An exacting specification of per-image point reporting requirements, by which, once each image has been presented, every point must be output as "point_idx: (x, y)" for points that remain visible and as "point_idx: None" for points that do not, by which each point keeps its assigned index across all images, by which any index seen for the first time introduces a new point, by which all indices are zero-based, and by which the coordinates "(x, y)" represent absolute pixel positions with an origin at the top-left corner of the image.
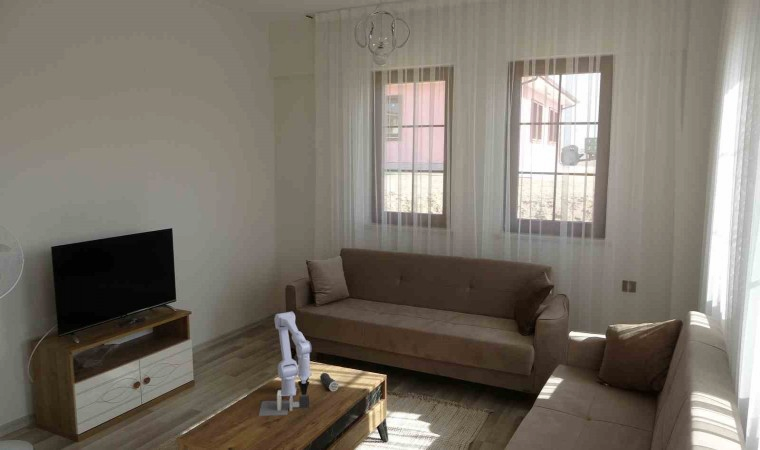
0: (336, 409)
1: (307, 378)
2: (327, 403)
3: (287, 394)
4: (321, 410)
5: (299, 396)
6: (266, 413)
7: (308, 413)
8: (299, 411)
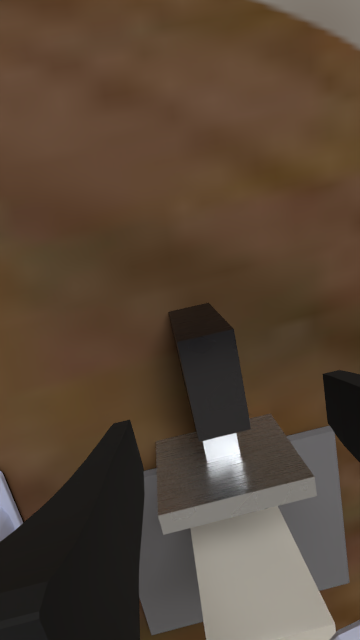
0: (194, 34)
1: (93, 547)
2: (79, 157)
3: (11, 531)
4: (228, 189)
5: (215, 435)
6: (318, 555)
7: (288, 289)
8: (258, 365)
